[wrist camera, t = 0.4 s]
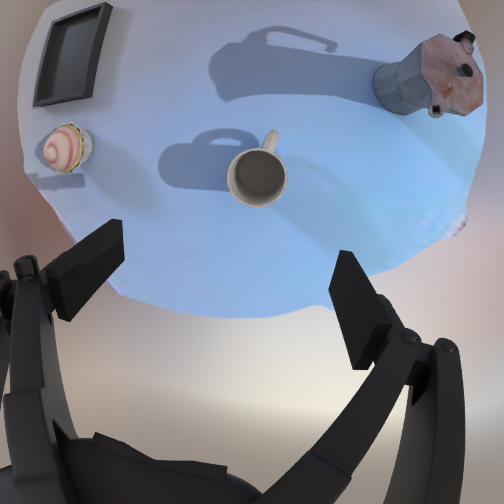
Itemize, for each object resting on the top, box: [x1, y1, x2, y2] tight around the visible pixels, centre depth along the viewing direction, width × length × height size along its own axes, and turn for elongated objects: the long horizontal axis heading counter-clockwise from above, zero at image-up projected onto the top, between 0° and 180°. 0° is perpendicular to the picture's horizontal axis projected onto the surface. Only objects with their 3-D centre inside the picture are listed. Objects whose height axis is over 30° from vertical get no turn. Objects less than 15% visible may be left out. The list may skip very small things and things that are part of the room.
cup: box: [227, 130, 288, 208], centre depth 35 cm, size 7×10×9 cm
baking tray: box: [33, 2, 113, 106], centre depth 31 cm, size 20×15×3 cm
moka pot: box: [373, 30, 483, 118], centre depth 23 cm, size 10×15×20 cm, turn 155°
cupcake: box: [43, 121, 94, 175], centre depth 35 cm, size 9×9×10 cm
